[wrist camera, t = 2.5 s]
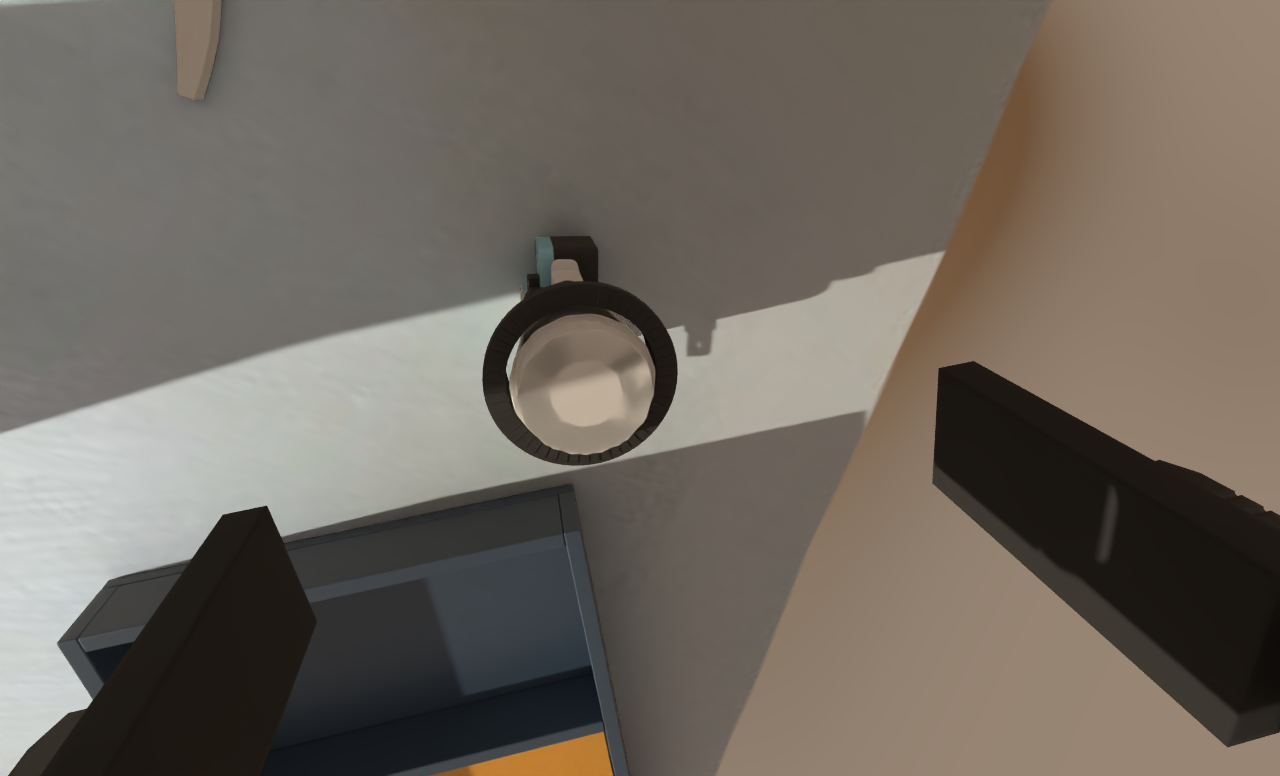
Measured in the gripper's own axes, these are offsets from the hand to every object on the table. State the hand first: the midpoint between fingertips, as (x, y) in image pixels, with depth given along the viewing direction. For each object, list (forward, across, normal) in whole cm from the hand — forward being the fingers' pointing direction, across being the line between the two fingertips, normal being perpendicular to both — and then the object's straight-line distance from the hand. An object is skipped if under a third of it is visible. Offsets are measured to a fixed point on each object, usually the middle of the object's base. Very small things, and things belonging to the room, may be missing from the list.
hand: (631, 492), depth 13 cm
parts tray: (+15, -11, -19) cm, 27 cm away
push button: (+15, 0, 0) cm, 15 cm away
